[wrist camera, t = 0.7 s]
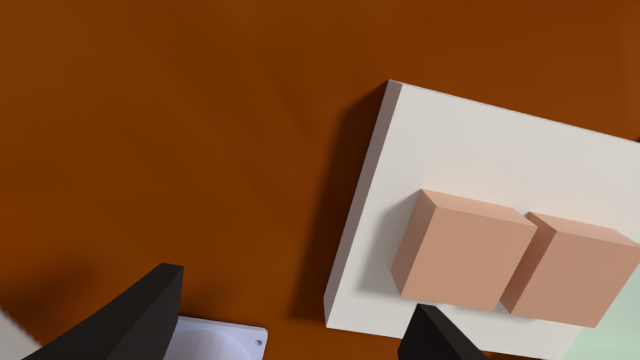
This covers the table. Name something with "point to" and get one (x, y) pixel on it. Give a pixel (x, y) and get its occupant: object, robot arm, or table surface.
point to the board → (479, 184)
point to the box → (613, 329)
